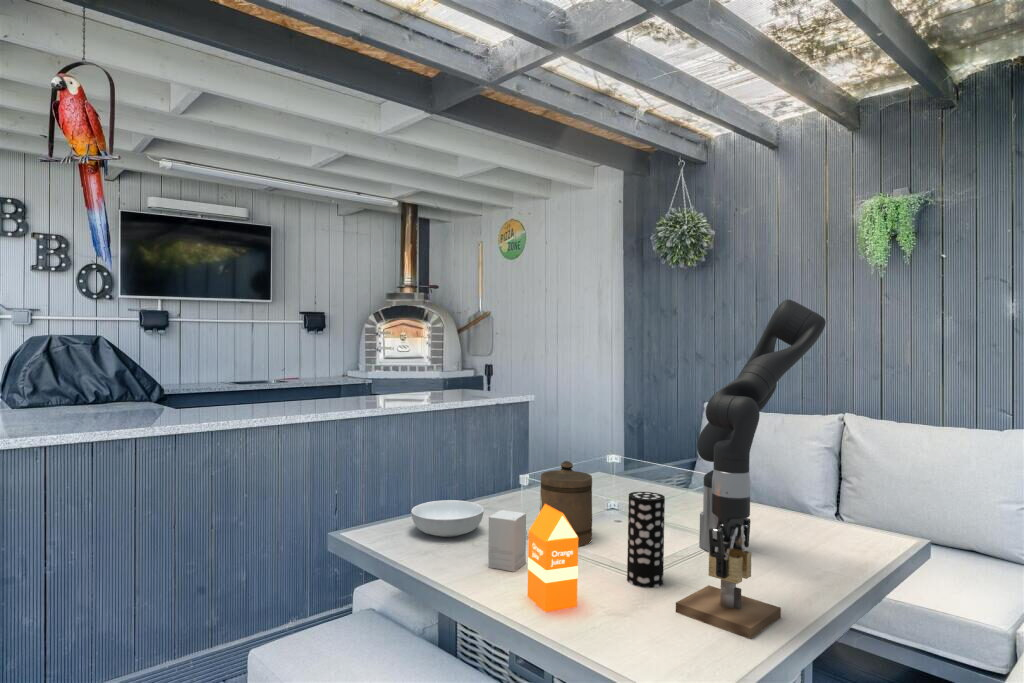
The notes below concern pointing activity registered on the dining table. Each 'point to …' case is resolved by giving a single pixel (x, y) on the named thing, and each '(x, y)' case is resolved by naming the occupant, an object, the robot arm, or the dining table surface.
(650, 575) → the spotted tube
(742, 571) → the slotted square frame
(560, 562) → the orange juice
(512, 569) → the supplement box
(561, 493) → the wooden container
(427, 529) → the serving bowl
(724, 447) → the robot arm
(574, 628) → the dining table surface
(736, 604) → the shaft stand
